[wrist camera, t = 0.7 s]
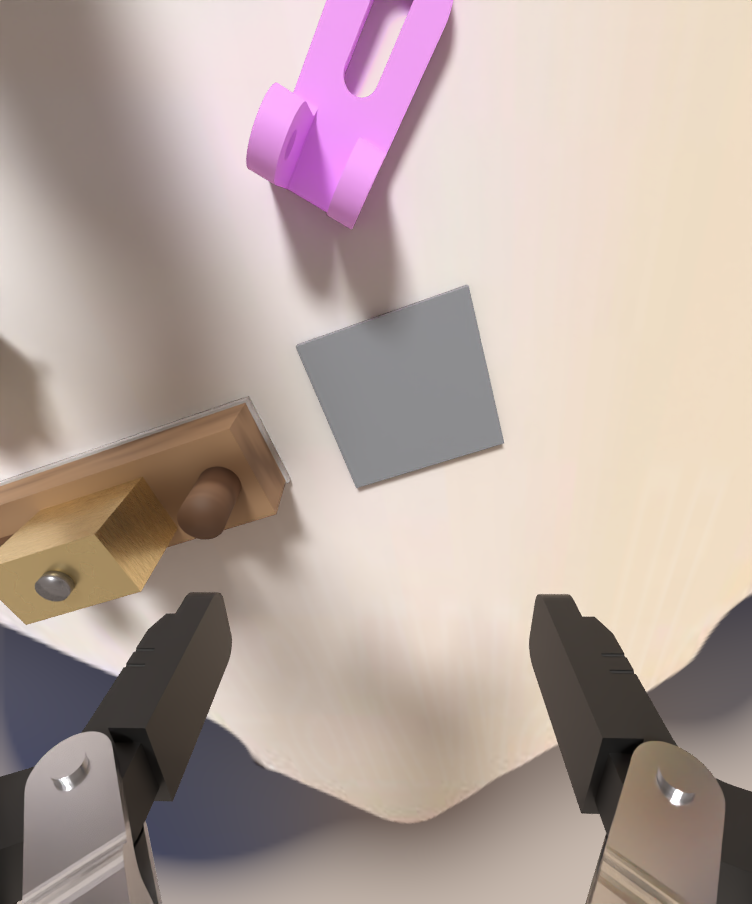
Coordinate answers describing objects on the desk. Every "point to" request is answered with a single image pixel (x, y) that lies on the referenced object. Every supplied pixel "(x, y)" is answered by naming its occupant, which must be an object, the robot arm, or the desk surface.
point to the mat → (405, 387)
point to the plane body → (168, 474)
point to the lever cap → (84, 552)
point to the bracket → (341, 110)
